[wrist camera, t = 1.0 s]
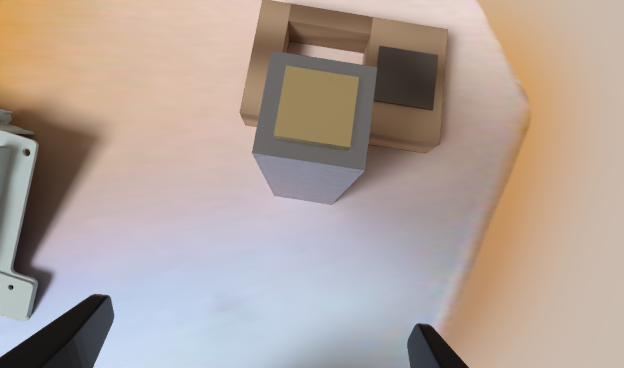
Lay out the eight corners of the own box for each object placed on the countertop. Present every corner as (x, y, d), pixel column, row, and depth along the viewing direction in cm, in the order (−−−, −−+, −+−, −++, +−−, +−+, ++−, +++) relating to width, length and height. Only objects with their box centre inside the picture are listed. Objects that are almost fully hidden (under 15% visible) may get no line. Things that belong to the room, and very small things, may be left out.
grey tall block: (331, 204, 24) (366, 168, 12) (274, 195, 24) (251, 150, 12) (339, 149, 25) (379, 63, 13) (283, 140, 25) (270, 46, 13)
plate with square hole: (425, 153, 25) (440, 142, 22) (245, 125, 25) (239, 111, 22) (434, 48, 27) (449, 27, 24) (265, 21, 26) (262, -3, 24)
